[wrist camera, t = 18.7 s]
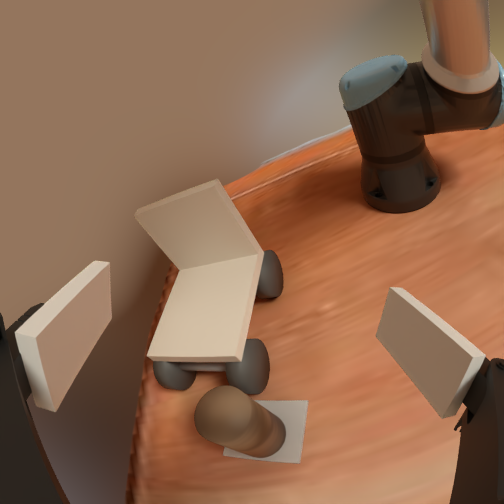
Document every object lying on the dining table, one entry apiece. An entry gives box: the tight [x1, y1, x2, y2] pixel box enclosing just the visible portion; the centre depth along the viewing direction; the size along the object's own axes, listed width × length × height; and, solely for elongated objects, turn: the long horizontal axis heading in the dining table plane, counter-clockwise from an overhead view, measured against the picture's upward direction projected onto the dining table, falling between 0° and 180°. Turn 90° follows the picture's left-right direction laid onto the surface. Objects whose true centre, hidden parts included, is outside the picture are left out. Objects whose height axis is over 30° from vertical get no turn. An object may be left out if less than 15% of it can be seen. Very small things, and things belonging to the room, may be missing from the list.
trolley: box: [134, 179, 283, 394], centre depth 41 cm, size 22×14×20 cm, turn 169°
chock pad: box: [223, 400, 308, 464], centre depth 34 cm, size 8×10×1 cm
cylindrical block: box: [194, 385, 286, 458], centre depth 30 cm, size 6×6×10 cm
